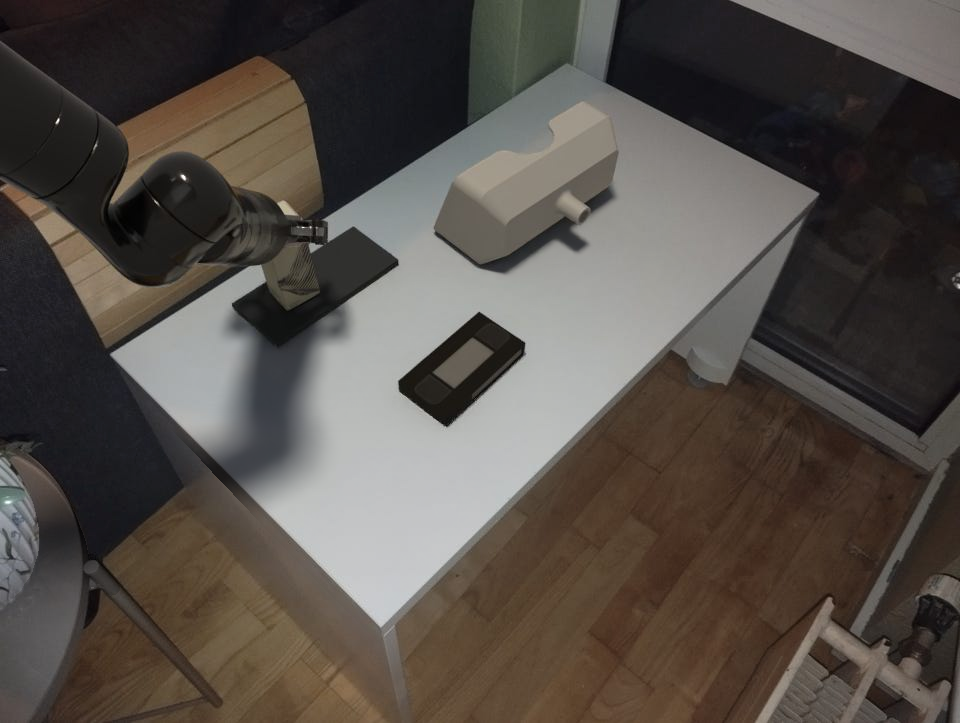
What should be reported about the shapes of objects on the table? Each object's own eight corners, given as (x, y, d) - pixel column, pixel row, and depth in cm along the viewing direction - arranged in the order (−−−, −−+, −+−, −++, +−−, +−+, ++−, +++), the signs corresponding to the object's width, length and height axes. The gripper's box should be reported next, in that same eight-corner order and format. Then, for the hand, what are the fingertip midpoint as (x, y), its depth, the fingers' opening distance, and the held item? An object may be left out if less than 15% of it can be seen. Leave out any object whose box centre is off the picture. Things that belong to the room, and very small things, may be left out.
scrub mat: (277, 348, 93) (276, 343, 92) (233, 308, 96) (231, 303, 96) (398, 264, 102) (398, 259, 101) (354, 231, 106) (353, 226, 105)
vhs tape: (525, 353, 94) (526, 343, 92) (446, 427, 87) (446, 417, 85) (478, 321, 97) (479, 311, 95) (398, 390, 90) (397, 381, 88)
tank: (513, 296, 99) (521, 224, 89) (431, 232, 106) (429, 159, 96) (634, 209, 110) (653, 136, 100) (553, 156, 117) (563, 83, 107)
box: (287, 313, 95) (262, 240, 84) (269, 292, 97) (242, 218, 86) (323, 292, 97) (303, 218, 86) (304, 271, 99) (283, 197, 88)
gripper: (312, 190, 73) (343, 201, 90) (162, 184, 73) (220, 196, 90) (312, 269, 74) (342, 266, 91) (163, 263, 74) (221, 261, 91)
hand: (282, 231), depth 90 cm, fingers closed on box, 6 cm apart
